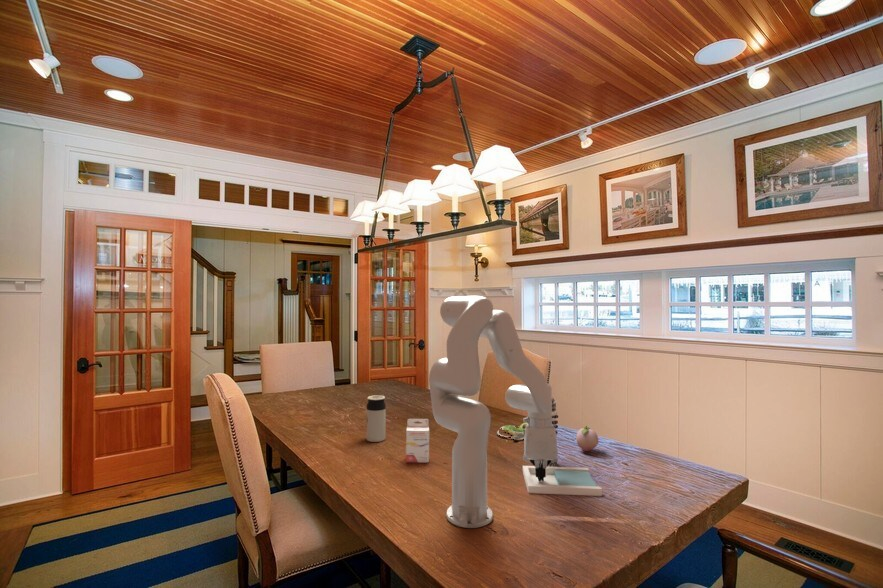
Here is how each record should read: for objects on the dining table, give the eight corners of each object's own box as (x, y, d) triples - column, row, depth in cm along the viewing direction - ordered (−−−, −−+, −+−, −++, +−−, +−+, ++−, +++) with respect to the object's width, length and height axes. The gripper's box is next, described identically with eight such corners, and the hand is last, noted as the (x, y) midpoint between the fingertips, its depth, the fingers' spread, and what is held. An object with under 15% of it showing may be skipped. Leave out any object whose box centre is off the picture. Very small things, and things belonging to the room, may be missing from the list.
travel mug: (387, 436, 184) (387, 395, 185) (383, 442, 176) (383, 399, 177) (369, 436, 185) (369, 394, 186) (364, 442, 177) (364, 398, 178)
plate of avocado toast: (532, 445, 174) (532, 434, 174) (491, 440, 182) (491, 429, 182) (542, 432, 192) (542, 422, 192) (503, 428, 199) (503, 418, 199)
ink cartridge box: (405, 462, 154) (405, 422, 155) (406, 457, 159) (406, 418, 160) (429, 462, 155) (429, 422, 155) (429, 457, 160) (429, 418, 160)
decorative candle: (558, 464, 153) (558, 394, 154) (558, 474, 144) (558, 400, 145) (532, 461, 156) (532, 393, 156) (531, 471, 147) (530, 398, 147)
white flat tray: (602, 499, 126) (601, 488, 126) (528, 496, 128) (528, 486, 128) (587, 476, 142) (587, 467, 142) (522, 474, 144) (522, 465, 144)
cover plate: (598, 492, 128) (598, 487, 128) (561, 491, 129) (561, 485, 129) (588, 476, 140) (587, 471, 140) (554, 475, 141) (554, 470, 141)
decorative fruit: (598, 457, 161) (598, 430, 161) (576, 454, 163) (575, 428, 164) (598, 448, 170) (597, 423, 170) (576, 446, 172) (576, 421, 172)
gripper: (517, 424, 133) (517, 483, 133) (566, 425, 132) (566, 485, 131) (515, 418, 140) (515, 473, 140) (561, 418, 139) (562, 475, 139)
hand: (540, 479), depth 136 cm, fingers closed
